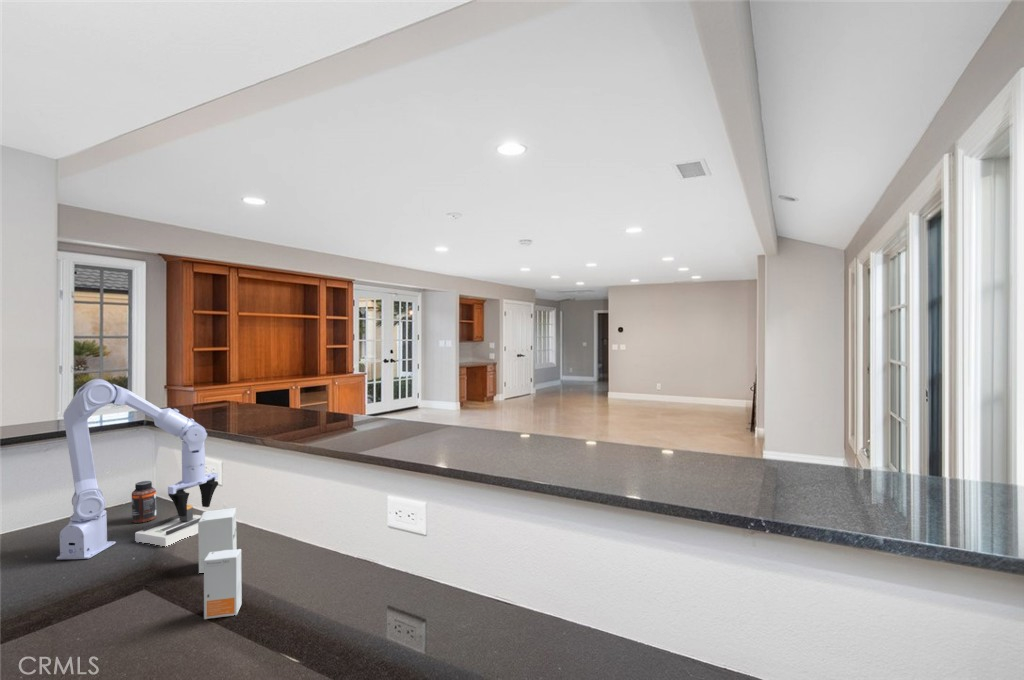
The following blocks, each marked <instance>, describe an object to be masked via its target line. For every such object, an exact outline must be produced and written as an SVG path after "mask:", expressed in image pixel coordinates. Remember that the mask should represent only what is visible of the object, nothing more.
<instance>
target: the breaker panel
mask: <svg viewBox="0 0 1024 680" xmlns="http://www.w3.org/2000/svg"><path fill="white" fill-rule="evenodd" d="M201 516H202V514H201V515H200V514H194V513H193V520H191V521H188V522H186V521H179V519H180V516H179V515H178V514H175V515H173V516H171V517H169V518H165V519H163V520H160V521H157V522H155V523H153V524H150V525H147V526H144V527H142V529H141V530H139V531H136V532H135V534H134V538H135V539H134V542H135V541H136V542H135V543H139V542H142V543H141V544H144V543H150V544H155V545H154V546H156V545H160V546H159V547H162V546H165V547H164V548H167V547H169V546H168V545H170V546H172V545H174V544H176V543H175V542H177V541H179V540H181V539H184V538H186V539H188V538H190V537H189V536H191V537H193V536H195V535H198V521H199V520H200V518H201ZM187 537H188V538H187ZM184 540H185V539H184ZM181 541H182V540H181ZM179 542H180V541H179ZM173 543H174V544H173ZM177 543H178V542H177ZM150 544H149V545H150ZM171 544H172V545H171ZM166 546H167V547H166Z"/></svg>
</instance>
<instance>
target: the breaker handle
mask: <svg viewBox="0 0 1024 680" xmlns="http://www.w3.org/2000/svg"><path fill="white" fill-rule="evenodd" d="M193 508H194V507H193V505H192V504H187V513H186V516H184V517H183V516H180V519H179V521H186V522H188V521H191V520H193V514H194V512H193V511H194V509H193Z"/></svg>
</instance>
